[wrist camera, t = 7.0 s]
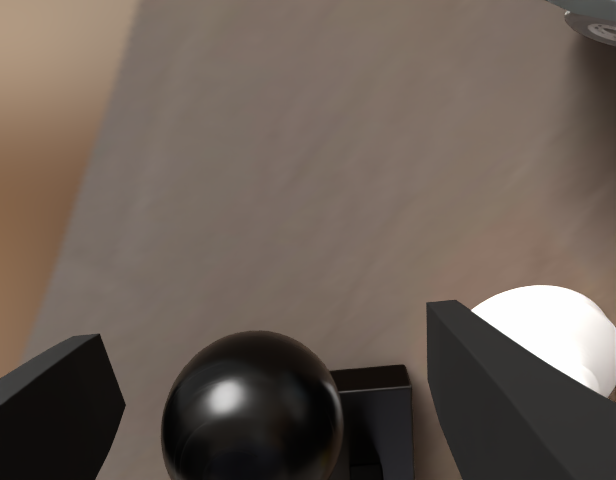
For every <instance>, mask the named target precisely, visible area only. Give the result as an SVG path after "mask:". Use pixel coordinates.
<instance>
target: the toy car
mask: <svg viewBox="0 0 616 480" xmlns="http://www.w3.org/2000/svg"><path fill="white" fill-rule="evenodd" d="M546 1H548V2H550V3H553V4H555V5H557V6H559V7H561V8H563V9H566V10H567V12H566V14H565V21H566V23H567V24H568V25H569V26H570V27H571V28H572V29H574V30H575V31H577V32H579V33H580V34H582V35H584V36H586V37H588V38H591V39H593V40H596V41H598V42H601V43H604V44H608V45H612V46H615V47H616V0H546Z"/></svg>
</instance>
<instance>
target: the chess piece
mask: <svg viewBox="0 0 616 480" xmlns="http://www.w3.org/2000/svg"><path fill="white" fill-rule="evenodd" d="M471 311H473V312H474V313H475V314H477V315H478V316H479V317H481V318H482V319H484V320H485V321H486V322H488V323H489V324H491V325H492V326H493V327H495V328H496V329H498V330H499V331H501V332H502V333H503V334H505V335H506V336H508V337H509V338H511V339H512V340H513V341H515V342H516V343H518V344H519V345H521V346H522V347H524V348H525V349H527V350H528V351H530V352H531V353H533V354H534V355H536V356H537V357H539V358H541V359H542V360H544V361H545V362H547V363H548V364H550V365H552V366H553V367H555V368H556V369H558V370H560V371H561V372H563V373H565V374H566V375H568V376H570V377H571V378H573V379H575V380H576V381H578V382H580V383H581V384H583V385H585V386H586V387H588V388H590V389H592V390H593V391H595V392H597V393H599V394H601V395H602V396H604V397H606V398H607V397H608V396H609V395H610V394H611V392H612V391H613V389H614V387H615V386H616V328H615V326H614V325H613V324H612V322H611V321H610V320H609V319H608V318H607V317H606V316H605V314H604V313H603V311H602V310H601V309H600V308H599V307H598V306H597V305H596V304H595V303H594V302H593V301H591V300H590V299H589V298H587V297H585V296H584V295H582V294H580V293H578V292H575V291H572V290H570V289H566V288H562V287H556V286H528V287H521V288H517V289H513V290H509V291H506V292H503V293H501V294H498V295H496V296H494V297H492V298H489V299H488V300H486V301H484V302H482V303H481V304H479V305H478V306H476V307H475V308H474V309H472V310H471Z"/></svg>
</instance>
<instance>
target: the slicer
mask: <svg viewBox="0 0 616 480" xmlns="http://www.w3.org/2000/svg"><path fill="white" fill-rule="evenodd" d="M329 372H330V374H331V376H332V378H333V380H334V382H335V384H336V386H337V388H338V391H339V394H340V397H341V403H342V408H343V414H344V434H343V443H342V447H341V451H340V455H339V459H338V462H337V464H336V467H335V469H334V471H333V473H332V475H331V477H330V479H329V480H415V470H414V440H413V409H412V386H411V383H410V379H409V376H408V373H407V370H406V367H405V365H392V366H381V367H369V368H358V369H346V370H335V371H329Z"/></svg>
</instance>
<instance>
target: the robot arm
mask: <svg viewBox="0 0 616 480" xmlns="http://www.w3.org/2000/svg"><path fill="white" fill-rule="evenodd" d="M426 305H427V369H428V383H429V386H430V390H431V394H432V397H433V401H434V405H435V408H436V412H437V415H438V419H439V422H440V425H441V428H442V430H443V433H444V435H445V438H446V440H447V443H448V445H449V447H450V450H451V452H452V455H453V457H454V460H455V462H456V465H457V467H458V470H459V472H460V474H461V477H462V479H463V480H616V403H615V402H613V401H611V400H610V399H608V398H606V397H604V396H602V395H601V394H599V393H597V392H595V391H593V390H592V389H590V388H588V387H586V386H585V385H583V384H581V383H580V382H578V381H576V380H575V379H573V378H571V377H570V376H568V375H566V374H565V373H563V372H561V371H560V370H558V369H556V368H555V367H553V366H552V365H550V364H548V363H547V362H545V361H544V360H542V359H541V358H539V357H537V356H536V355H534V354H533V353H531V352H530V351H528V350H527V349H525V348H524V347H522V346H521V345H519V344H518V343H516V342H515V341H513V340H512V339H511V338H509V337H508V336H506V335H505V334H503V333H502V332H501V331H499V330H498V329H496V328H495V327H493V326H492V325H491V324H489V323H488V322H486V321H485V320H484V319H482V318H481V317H479V316H478V315H477V314H475V313H474V312H473V311H471V310H470V309H468V308H467V307H466V306H464V305H463V304H461V303H460V302H458V301H457V300H449V301H438V302H428V303H426ZM125 406H126V404H125V402H124V399H123V396H122V393H121V391H120V388H119V385H118V382H117V380H116V377H115V374H114V372H113V369H112V366H111V363H110V361H109V358H108V355H107V352H106V350H105V347H104V344H103V341H102V339H101V336H100V334H92V335H81V336H73V337H71V338H69V339H67V340H65V341H63V342H61V343H59V344H57V345H55V346H53V347H52V348H50V349H48V350H46V351H45V352H43V353H41V354H40V355H38V356H36V357H35V358H33V359H31V360H30V361H28V362H26V363H25V364H23V365H21V366H20V367H18V368H16V369H15V370H13V371H12V372H10V373H8V374H7V375H5V376H4V377H2V378H0V480H95V479H96V477H97V475H98V473H99V471H100V469H101V467H102V465H103V463H104V461H105V459H106V457H107V455H108V453H109V451H110V448H111V446H112V443H113V440H114V438H115V435H116V432H117V430H118V427H119V424H120V421H121V418H122V415H123V412H124V409H125Z"/></svg>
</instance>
